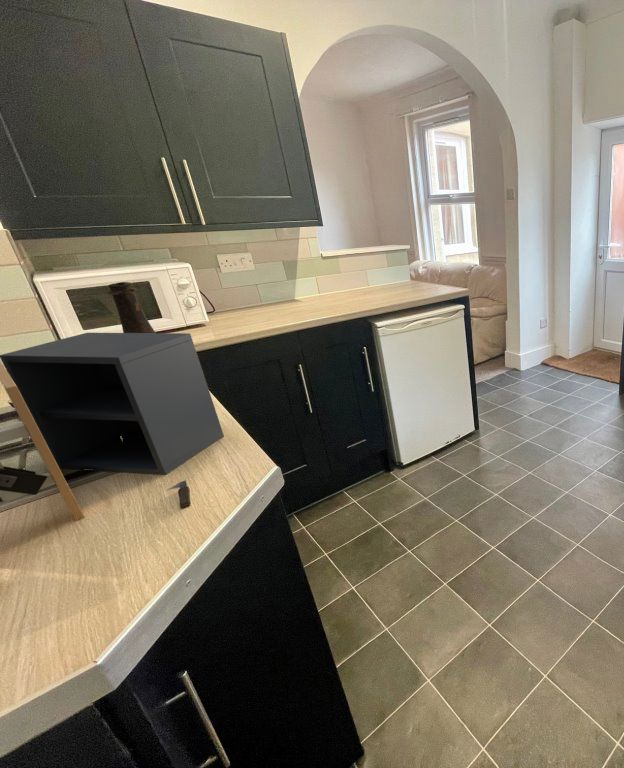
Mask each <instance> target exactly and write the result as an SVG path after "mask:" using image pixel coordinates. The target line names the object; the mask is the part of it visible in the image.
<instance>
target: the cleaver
mask: <svg viewBox="0 0 624 768" xmlns="http://www.w3.org/2000/svg"><path fill="white" fill-rule="evenodd" d="M187 483H188V482H187V480H183V481H180V482H178V483H176V484H174V485H173V486H171V487H169V488H167V489H165V492H167V491H171V490H175V489H178V490H177V493H178V499H179V507H180V509H181V510H184V509H187V508H189V507H191V496H190V493H191V492H190V491H191V490H190V487H189V486H188V484H187Z"/></svg>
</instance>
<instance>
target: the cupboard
mask: <svg viewBox="0 0 624 768" xmlns="http://www.w3.org/2000/svg"><path fill="white" fill-rule="evenodd" d="M0 361H1V363H2V364H3V366H4V367H5V369H6V370H7V372H8V374H9V375H10V377H11V378H12V380H13V381H14V383H15V384H16V386H17V388H18V390H19V392H20V394H21V396H22V398H23V399H24V401H25V403H26V405H27V407H28V409H29V411H30V413H31V415H32V417H33V419H34V421H35V423H36V424H37V426H38V428H39V430H40V432H41V434H42V436H43V438H44V440H45V442H46V444H47V446H48V448H49V449H50V451H51V453H52V455H53V457H54V459H55V461H56V463H57V465H58V467H59V469H60V471H62V470H64V471H80V470H84V469H93V470H98V471H97V472H99V471H102V472H101V473H121V474H122V473H123V474H137V475H138V474H139V475H156V476H157V475H158V476H167V475H168V474H170V473H171V472H173V471H174V470H176V469H178V468H179V467H181V466H182V465H183V464H185V463H186V462H188V461H189V460H191V459H192V458H194V457H196V456H197V455H198V454H201V453H202V452H203V451H205V450H206V449H207V448H209V447H211V446H212V445H214V444H215V443H217V442H218V441H219V440H221V439H222V438H223V437H225V434H224V431H223V429H222V426H221V422H220V420H219V416H218V414H217V410H216V407H215V405H214V401H213V399H212V395H211V392H210V389H209V386H208V383H207V380H206V376H205V374H204V371H203V368H202V364H201V362H200V358H199V356H198V352H197V350H196V346H195V343H194V341H193V337H192V335H191V333H189V332H188V333H187V332H185V333H181V332H180V333H178V332H177V333H176V332H175V333H174V332H173V333H172V332H171V333H170V332H156V333H123V332H84V333H80V334H76V335H73V336H68V337H64V338H61V339H60V338H59V339H57V340H53V341H49V342H45V343H42V344H37V345H34V346H30V347H25V348H22V349H18V350H14V351H10V352H6V353H3V354H0ZM120 436H122V438H123V442H122V441H121V439H120Z"/></svg>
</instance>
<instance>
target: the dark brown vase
mask: <svg viewBox="0 0 624 768" xmlns="http://www.w3.org/2000/svg"><path fill="white" fill-rule="evenodd" d="M108 287H109V291H107V292H106V294H107V295H111V296H112V298H113V301H114V304H115V308H116V310H117V313H118V317H119V320H120V323H121V328H122V333H157V332H156V331H155V329H154V327H153V326H152V325H151V323H150V322H149V319H148V318H147V316H146V314H145V312H144V310H143V308H142V306H141V303H140V302H139V300H138V297H137V295H136V292H137V291H139V289H138V288H135V287H133V283H132V282H129V281H121V282H115V283H110V284H109V285H108Z"/></svg>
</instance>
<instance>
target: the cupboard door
mask: <svg viewBox="0 0 624 768" xmlns="http://www.w3.org/2000/svg"><path fill="white" fill-rule="evenodd" d="M0 383H1V384H2V386H3V388H4V391H5V393H6V394H7V396H8V398H9V400H10V401H11V403H12V406H13V407H14V409H15V411H16V413H17V415H18V416H19V418H20V420H21V422H19V423H16V424H12V425H8V426H5V427H1V428H0V444H3V443H7V442H10V441H14V440H17V439H21V438H24V437H28V436H29V437H30V439H31V441H32V443H33V445H34V446H35V449H36V450H37V453H38V454H39V456H40V458H41V460H42V461H43V463H44V465H45V467H46V470H47V471H48V472H44V473H42V474H41V475H44V476H47V478H46V480H45V482H44V483H43V485H42V486H41V488H40V490H39V491H41V490H43V489H46V488H49V487H52V486H56V487H57V489H58V491H59V493H60V495H61V496H62V498H63V500H64V502H65V504H66V505H67V508H68V509H69V511H70V513H71V515H72V517H73V518H74V520H75V521H79V520H81V519H84V518H85V514H84V513H83V511H82V509H81V507H80V505H79V503H78V501H77V500H76V497H75V495H74V494H73V492H72V490H71V488H70V486H69V484H68V483H67V480H66V478H65V477H64V474H63V473H62V470H61V469H59V467H58V465H57V463H56V461H55V459H54V457H53V455H52V453H51V451H50V449H49V448H48V446H47V444H46V442H45V440H44V438H43V436H42V434H41V432H40V430H39V428H38V426H37V424H36V423H35V421H34V419H33V417H32V415H31V413H30V411H29V409H28V407H27V405H26V403H25V401H24V399H23V398H22V396H21V394H20V392H19V390H18V388H17V386H16V384H15V383H14V381H13V380H12V378H11V377H10V375H9V374H8V372H7V370H6V368H5V366H4V364H3V363H2V361H1V360H0ZM3 466H4V465H3V464H2V462H1V461H0V468H2V469H4V468H3ZM27 495H28V494H24V493H17V492H9V491H1V490H0V499H1V500H2V502H9V501H10V502H11V501H12V500H16V499H18V498H21V497H23V496H27Z"/></svg>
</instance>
